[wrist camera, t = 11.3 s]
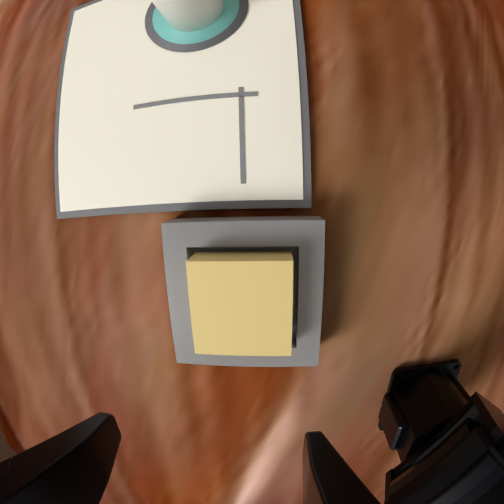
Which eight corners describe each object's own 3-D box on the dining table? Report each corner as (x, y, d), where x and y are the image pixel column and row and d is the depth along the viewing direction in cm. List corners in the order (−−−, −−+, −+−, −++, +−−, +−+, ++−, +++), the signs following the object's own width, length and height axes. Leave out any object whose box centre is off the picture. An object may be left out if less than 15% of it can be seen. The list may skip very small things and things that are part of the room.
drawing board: (295, -31, 15) (295, -36, 14) (310, 207, 18) (312, 208, 18) (74, 11, 16) (70, 8, 15) (60, 218, 20) (55, 219, 19)
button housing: (318, 215, 18) (325, 220, 16) (314, 347, 20) (318, 365, 18) (174, 218, 19) (161, 223, 17) (186, 345, 21) (177, 362, 19)
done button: (291, 251, 17) (293, 260, 15) (289, 337, 18) (291, 355, 16) (196, 252, 18) (185, 261, 16) (203, 336, 19) (194, 353, 17)
